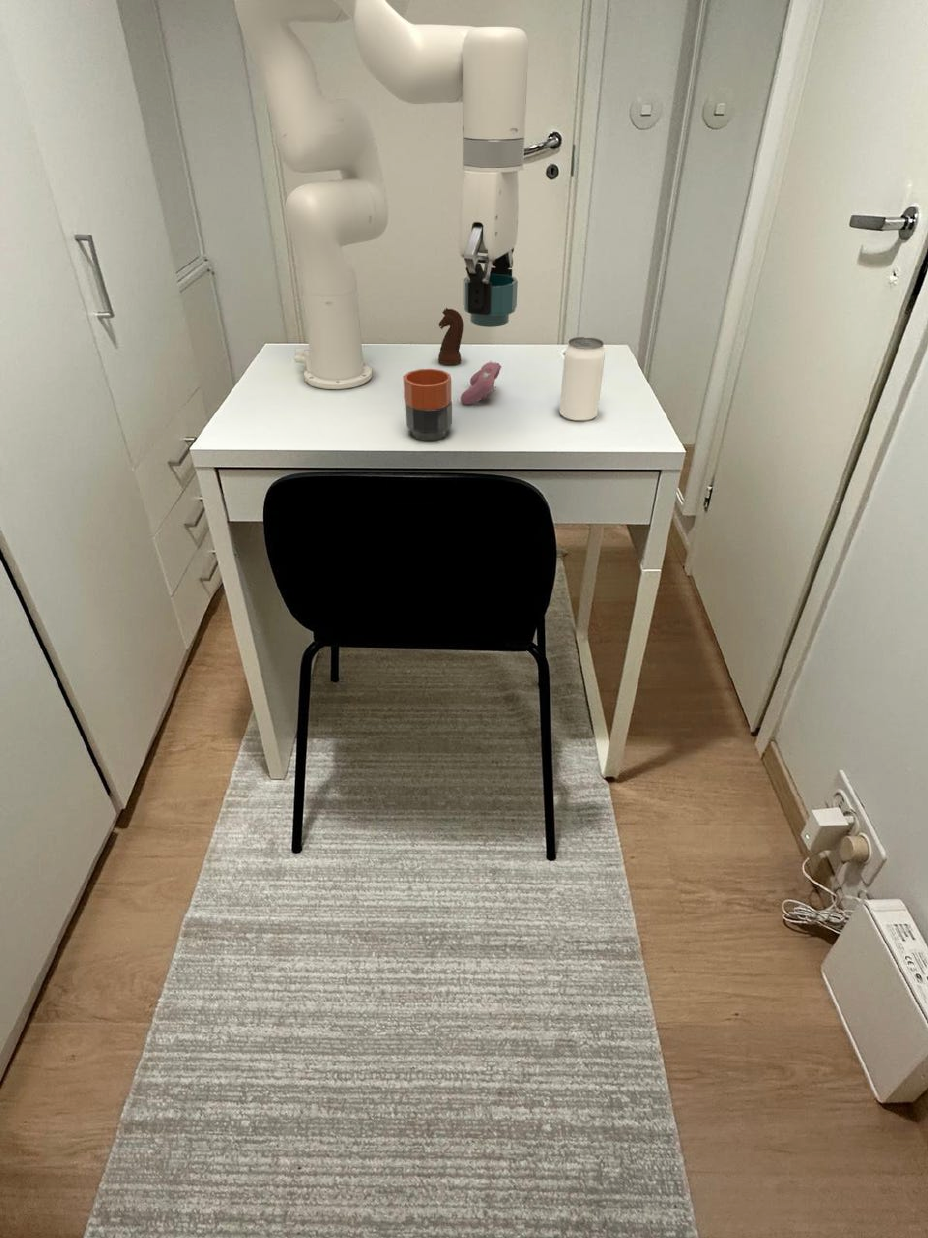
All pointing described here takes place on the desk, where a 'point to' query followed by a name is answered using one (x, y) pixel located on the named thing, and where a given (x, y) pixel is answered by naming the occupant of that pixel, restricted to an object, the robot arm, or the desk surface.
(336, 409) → the desk surface
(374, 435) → the desk surface
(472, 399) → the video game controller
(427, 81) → the robot arm
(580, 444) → the desk surface
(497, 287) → the top bowl
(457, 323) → the chess piece
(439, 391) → the middle bowl
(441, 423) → the bottom bowl
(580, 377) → the can
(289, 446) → the desk surface
